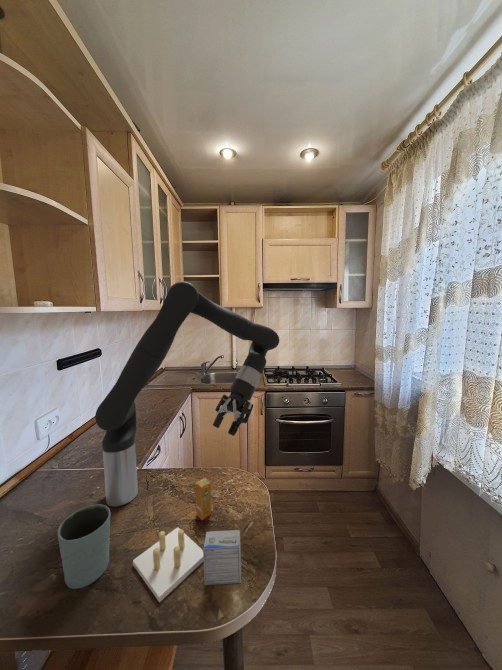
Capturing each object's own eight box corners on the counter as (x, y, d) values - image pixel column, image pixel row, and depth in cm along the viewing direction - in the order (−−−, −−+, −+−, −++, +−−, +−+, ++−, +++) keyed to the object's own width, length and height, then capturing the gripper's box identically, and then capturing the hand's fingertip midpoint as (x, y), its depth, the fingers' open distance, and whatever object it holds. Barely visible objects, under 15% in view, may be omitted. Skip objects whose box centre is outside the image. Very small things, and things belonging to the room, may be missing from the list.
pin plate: (133, 565, 58) (131, 544, 58) (178, 531, 67) (177, 512, 67) (159, 602, 50) (158, 578, 50) (206, 558, 59) (205, 537, 59)
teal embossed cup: (85, 547, 63) (82, 502, 62) (123, 550, 62) (120, 504, 61) (49, 591, 53) (44, 538, 52) (93, 595, 52) (89, 541, 51)
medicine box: (241, 564, 58) (240, 528, 57) (241, 584, 53) (240, 546, 53) (207, 566, 57) (205, 530, 57) (204, 586, 53) (202, 548, 52)
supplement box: (202, 521, 70) (200, 487, 69) (195, 514, 73) (194, 481, 72) (212, 515, 72) (210, 482, 72) (205, 508, 75) (204, 476, 74)
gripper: (225, 375, 85) (202, 420, 79) (252, 379, 74) (227, 432, 68) (240, 385, 89) (219, 429, 83) (267, 391, 78) (245, 442, 72)
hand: (222, 430), depth 75 cm, fingers open, 8 cm apart
